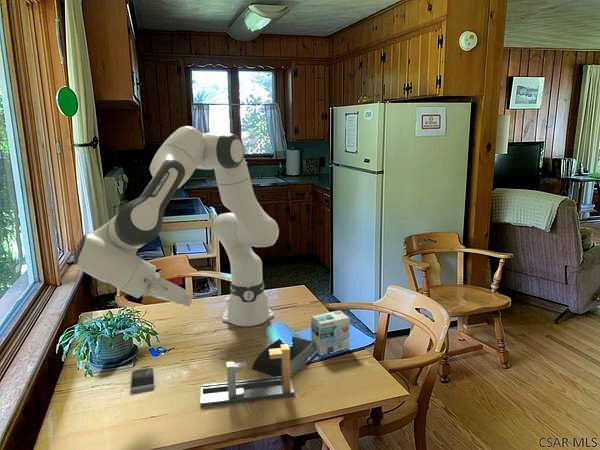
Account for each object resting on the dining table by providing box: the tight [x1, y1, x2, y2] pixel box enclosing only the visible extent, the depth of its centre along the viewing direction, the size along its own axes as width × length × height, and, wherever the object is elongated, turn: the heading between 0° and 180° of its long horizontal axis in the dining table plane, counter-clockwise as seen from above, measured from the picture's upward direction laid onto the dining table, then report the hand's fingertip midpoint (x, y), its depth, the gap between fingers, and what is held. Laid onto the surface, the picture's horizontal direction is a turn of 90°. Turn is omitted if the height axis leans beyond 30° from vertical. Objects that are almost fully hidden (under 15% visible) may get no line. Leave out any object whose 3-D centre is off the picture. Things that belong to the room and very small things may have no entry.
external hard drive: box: [251, 335, 316, 378], centre depth 136 cm, size 13×19×4 cm
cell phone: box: [130, 367, 156, 395], centre depth 125 cm, size 6×11×1 cm, turn 19°
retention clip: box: [226, 361, 248, 398], centre depth 116 cm, size 2×5×9 cm, turn 101°
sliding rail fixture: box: [199, 344, 296, 408], centre depth 117 cm, size 7×24×13 cm, turn 101°
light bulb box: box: [310, 310, 351, 355], centre depth 142 cm, size 11×7×11 cm, turn 114°
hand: (189, 303), depth 116 cm, fingers closed
